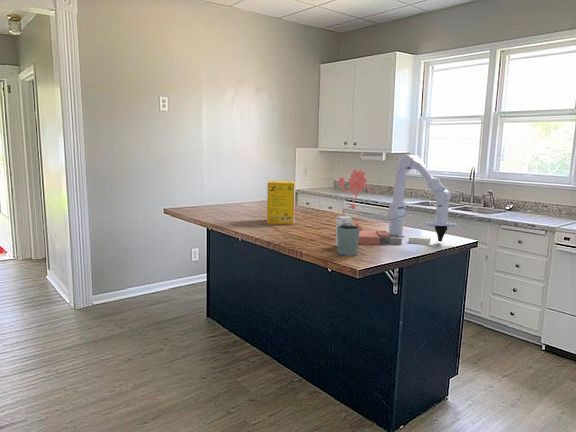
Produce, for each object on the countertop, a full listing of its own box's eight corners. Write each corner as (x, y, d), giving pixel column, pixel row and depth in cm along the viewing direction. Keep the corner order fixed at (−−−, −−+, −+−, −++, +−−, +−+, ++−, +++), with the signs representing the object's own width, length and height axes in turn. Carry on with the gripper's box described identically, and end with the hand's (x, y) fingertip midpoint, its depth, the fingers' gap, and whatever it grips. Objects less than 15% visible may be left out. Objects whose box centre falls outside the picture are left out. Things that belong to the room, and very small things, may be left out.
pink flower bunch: (363, 237, 231) (368, 170, 227) (329, 230, 251) (332, 168, 247) (383, 235, 241) (387, 170, 236) (348, 228, 261) (351, 168, 256)
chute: (409, 241, 227) (410, 235, 226) (430, 243, 223) (430, 237, 223) (408, 243, 222) (408, 237, 222) (429, 245, 218) (429, 239, 218)
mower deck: (356, 237, 232) (356, 229, 232) (396, 238, 231) (397, 230, 230) (358, 243, 217) (359, 235, 216) (402, 245, 215) (402, 236, 215)
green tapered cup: (346, 257, 189) (347, 229, 188) (331, 252, 197) (332, 226, 196) (363, 254, 195) (364, 227, 193) (347, 249, 203) (348, 224, 202)
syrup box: (340, 248, 207) (341, 217, 204) (335, 245, 212) (336, 215, 210) (351, 247, 208) (352, 217, 206) (346, 244, 214) (347, 215, 212)
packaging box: (269, 219, 285) (269, 180, 281) (294, 220, 284) (295, 181, 280) (266, 223, 269) (267, 182, 265) (293, 224, 268) (294, 183, 264)
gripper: (429, 214, 216) (427, 242, 218) (459, 215, 215) (457, 243, 217) (425, 212, 223) (423, 239, 225) (454, 213, 222) (452, 240, 224)
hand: (439, 241), depth 222 cm, fingers closed
